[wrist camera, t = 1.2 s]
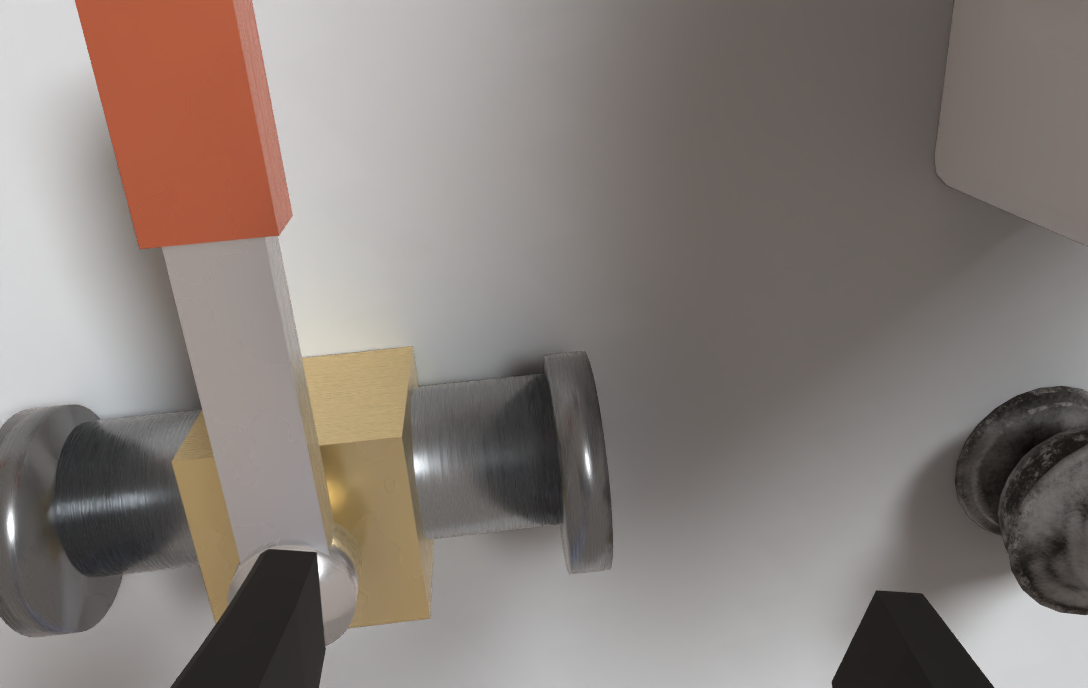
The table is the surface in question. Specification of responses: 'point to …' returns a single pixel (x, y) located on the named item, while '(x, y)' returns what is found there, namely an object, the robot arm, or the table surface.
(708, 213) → the table surface
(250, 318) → the valve lever
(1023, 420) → the salt shaker
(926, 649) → the robot arm
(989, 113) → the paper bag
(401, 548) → the valve
